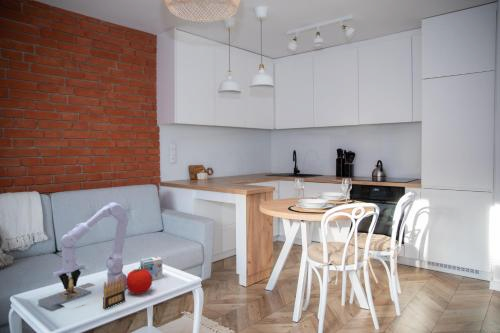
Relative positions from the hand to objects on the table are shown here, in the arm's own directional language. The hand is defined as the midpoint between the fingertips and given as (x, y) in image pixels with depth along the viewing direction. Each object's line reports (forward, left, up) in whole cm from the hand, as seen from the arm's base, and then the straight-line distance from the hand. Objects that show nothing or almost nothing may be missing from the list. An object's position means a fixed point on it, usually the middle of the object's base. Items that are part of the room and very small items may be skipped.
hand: (70, 287), depth 176 cm
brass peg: (0, 0, -2) cm, 2 cm away
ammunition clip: (-24, -7, -6) cm, 26 cm away
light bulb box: (-11, -40, -6) cm, 42 cm away
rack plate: (0, +2, -6) cm, 6 cm away
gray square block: (+6, -12, -6) cm, 14 cm away
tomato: (-22, -23, -6) cm, 32 cm away
